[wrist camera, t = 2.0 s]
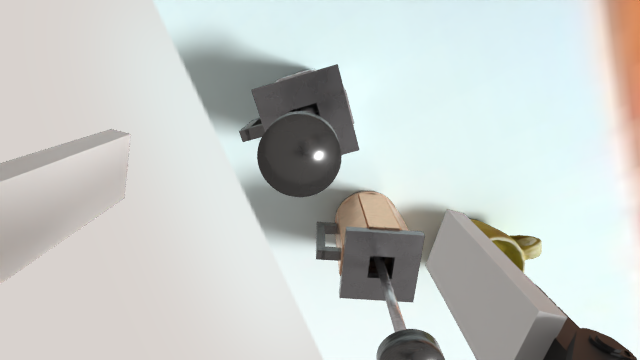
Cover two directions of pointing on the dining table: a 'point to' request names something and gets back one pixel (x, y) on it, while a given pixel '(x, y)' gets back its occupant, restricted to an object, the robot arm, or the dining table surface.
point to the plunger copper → (401, 324)
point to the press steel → (305, 103)
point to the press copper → (371, 247)
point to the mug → (512, 244)
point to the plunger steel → (299, 153)
